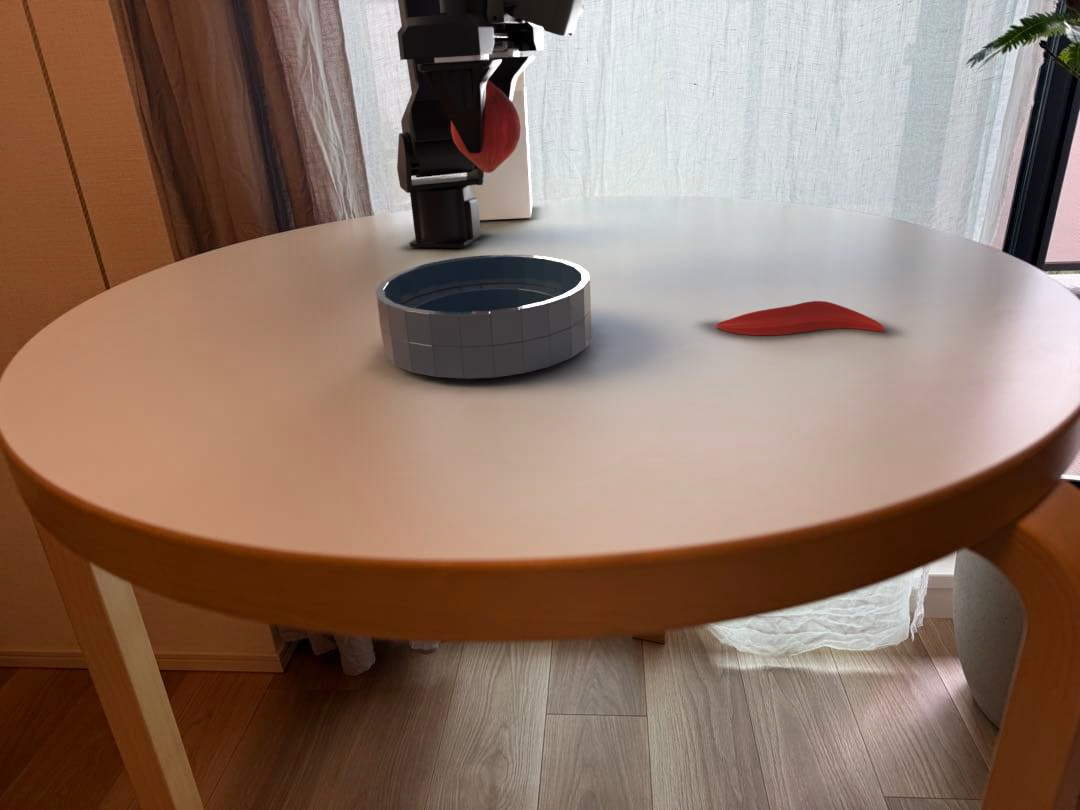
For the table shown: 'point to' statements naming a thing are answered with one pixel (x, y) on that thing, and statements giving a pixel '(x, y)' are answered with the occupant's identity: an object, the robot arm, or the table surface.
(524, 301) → the bowl
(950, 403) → the table surface
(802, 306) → the cayenne pepper
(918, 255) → the table surface
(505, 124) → the onion
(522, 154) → the milk carton
